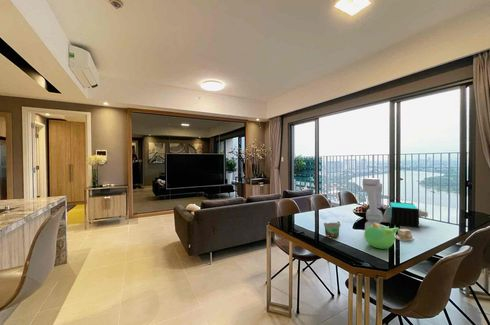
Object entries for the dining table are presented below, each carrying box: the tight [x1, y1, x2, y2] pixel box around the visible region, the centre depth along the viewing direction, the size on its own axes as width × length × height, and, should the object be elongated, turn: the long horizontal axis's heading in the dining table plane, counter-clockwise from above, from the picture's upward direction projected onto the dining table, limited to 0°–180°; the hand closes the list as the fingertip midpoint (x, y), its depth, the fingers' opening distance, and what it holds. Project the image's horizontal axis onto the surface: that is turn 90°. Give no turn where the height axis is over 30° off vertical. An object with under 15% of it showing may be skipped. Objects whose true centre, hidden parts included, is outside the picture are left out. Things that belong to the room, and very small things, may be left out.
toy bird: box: [364, 222, 400, 250], centre depth 132 cm, size 18×17×15 cm
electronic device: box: [389, 201, 429, 228], centre depth 182 cm, size 25×25×15 cm
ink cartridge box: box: [377, 206, 391, 223], centre depth 187 cm, size 10×6×14 cm, turn 78°
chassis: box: [395, 234, 415, 242], centre depth 146 cm, size 10×6×2 cm, turn 101°
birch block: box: [397, 228, 412, 239], centre depth 146 cm, size 6×4×5 cm, turn 101°
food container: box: [323, 221, 341, 239], centre depth 150 cm, size 12×6×10 cm, turn 105°
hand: (377, 215), depth 168 cm, fingers open, 7 cm apart
